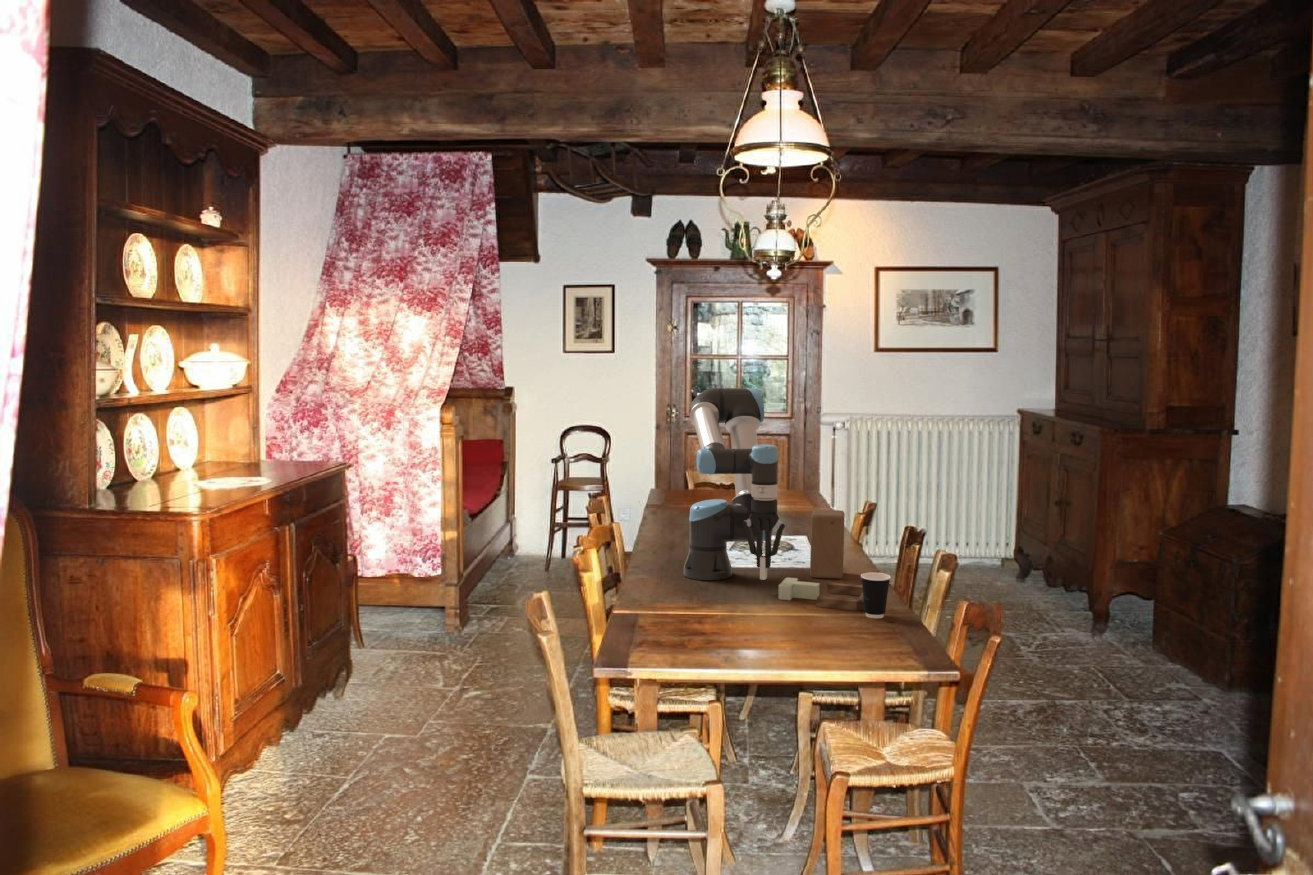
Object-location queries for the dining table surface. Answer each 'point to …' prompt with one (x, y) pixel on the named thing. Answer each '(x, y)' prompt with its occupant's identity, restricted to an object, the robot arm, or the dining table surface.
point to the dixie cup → (875, 593)
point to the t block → (798, 589)
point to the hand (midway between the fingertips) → (763, 578)
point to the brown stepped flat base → (842, 602)
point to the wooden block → (827, 544)
